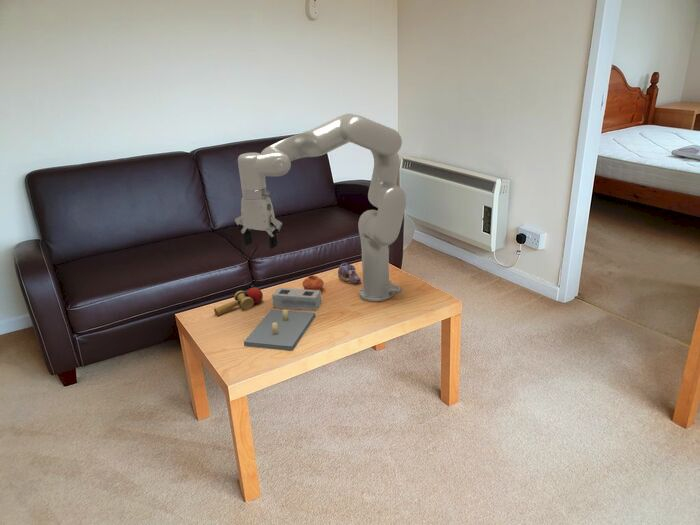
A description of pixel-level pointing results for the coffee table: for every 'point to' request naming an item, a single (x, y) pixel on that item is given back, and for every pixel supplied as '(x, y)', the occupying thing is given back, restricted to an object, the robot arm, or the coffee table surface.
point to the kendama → (242, 300)
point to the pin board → (280, 329)
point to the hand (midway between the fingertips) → (261, 245)
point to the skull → (348, 273)
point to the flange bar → (297, 299)
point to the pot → (312, 283)
